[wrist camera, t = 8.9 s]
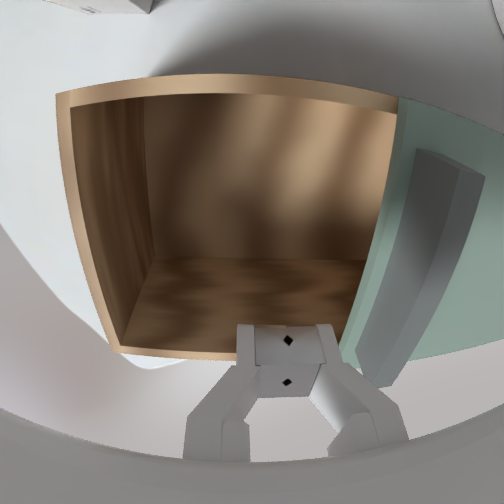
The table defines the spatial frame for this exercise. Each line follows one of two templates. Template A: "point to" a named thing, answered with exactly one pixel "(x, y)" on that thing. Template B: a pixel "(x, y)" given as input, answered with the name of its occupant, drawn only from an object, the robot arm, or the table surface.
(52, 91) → the table surface
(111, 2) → the packaging
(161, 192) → the wooden box
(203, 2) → the table surface
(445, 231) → the lid
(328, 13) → the table surface
